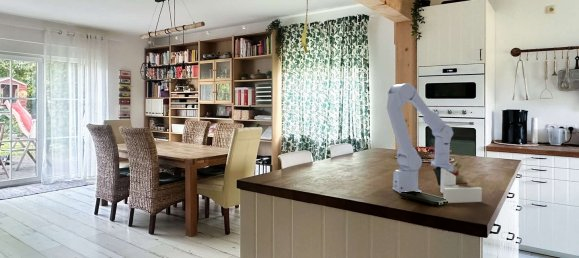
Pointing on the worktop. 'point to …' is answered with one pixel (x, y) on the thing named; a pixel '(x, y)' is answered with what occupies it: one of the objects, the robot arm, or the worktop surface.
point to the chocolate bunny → (459, 176)
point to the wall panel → (463, 195)
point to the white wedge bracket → (447, 180)
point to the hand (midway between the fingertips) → (441, 185)
